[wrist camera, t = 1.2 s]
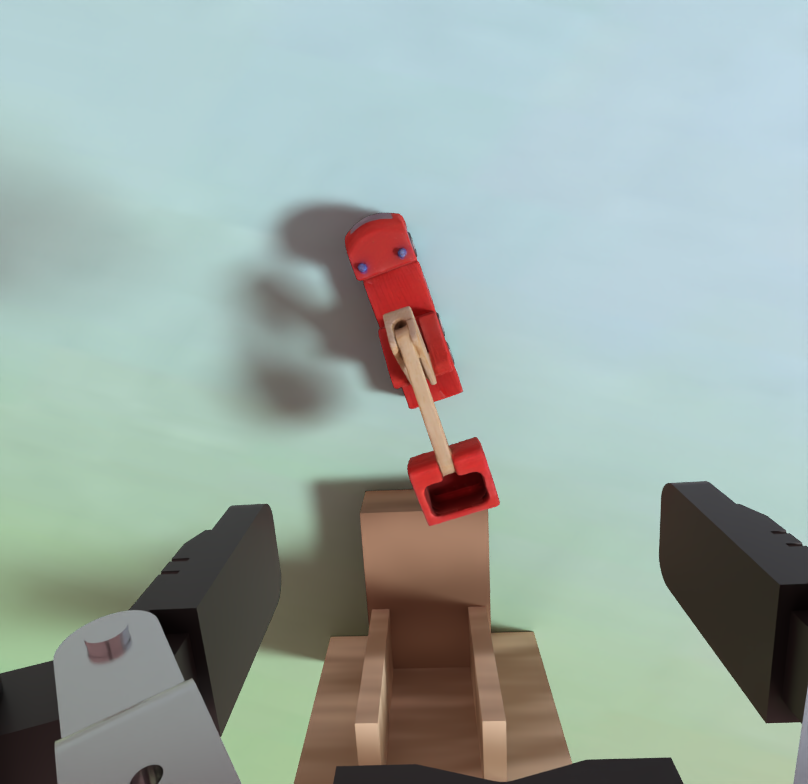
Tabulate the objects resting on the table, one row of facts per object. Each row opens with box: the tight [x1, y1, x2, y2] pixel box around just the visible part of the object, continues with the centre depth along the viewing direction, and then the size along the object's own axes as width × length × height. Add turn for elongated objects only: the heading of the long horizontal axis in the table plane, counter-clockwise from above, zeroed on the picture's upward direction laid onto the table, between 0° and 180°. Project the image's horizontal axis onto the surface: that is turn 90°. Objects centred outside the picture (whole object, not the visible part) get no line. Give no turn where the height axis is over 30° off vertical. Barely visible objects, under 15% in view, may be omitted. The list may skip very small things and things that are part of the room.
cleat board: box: [294, 489, 572, 784], centre depth 25 cm, size 12×13×20 cm
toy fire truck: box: [345, 213, 500, 526], centre depth 26 cm, size 3×14×10 cm, turn 20°
